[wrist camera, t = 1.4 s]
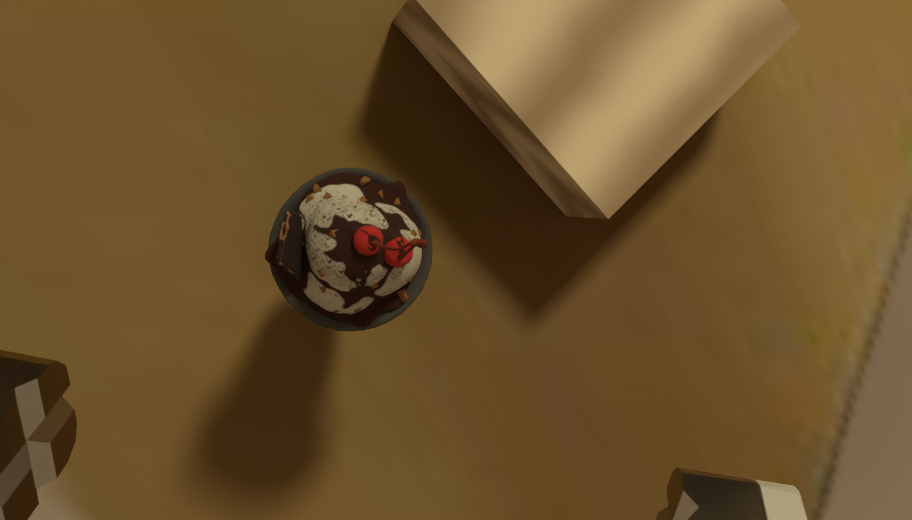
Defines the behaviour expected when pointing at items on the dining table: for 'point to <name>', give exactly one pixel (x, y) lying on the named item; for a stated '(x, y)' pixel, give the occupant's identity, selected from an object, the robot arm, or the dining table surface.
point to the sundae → (350, 249)
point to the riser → (595, 80)
